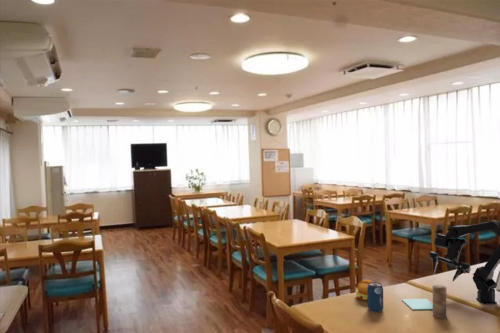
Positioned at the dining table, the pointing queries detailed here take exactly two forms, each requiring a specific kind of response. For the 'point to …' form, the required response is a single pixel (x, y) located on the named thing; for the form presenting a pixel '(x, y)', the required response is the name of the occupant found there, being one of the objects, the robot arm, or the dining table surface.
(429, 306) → the board
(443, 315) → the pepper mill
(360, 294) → the cheeseburger
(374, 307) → the soda can
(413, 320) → the dining table surface
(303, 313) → the dining table surface
